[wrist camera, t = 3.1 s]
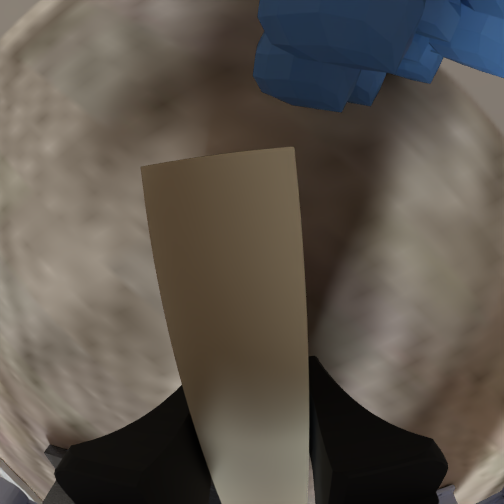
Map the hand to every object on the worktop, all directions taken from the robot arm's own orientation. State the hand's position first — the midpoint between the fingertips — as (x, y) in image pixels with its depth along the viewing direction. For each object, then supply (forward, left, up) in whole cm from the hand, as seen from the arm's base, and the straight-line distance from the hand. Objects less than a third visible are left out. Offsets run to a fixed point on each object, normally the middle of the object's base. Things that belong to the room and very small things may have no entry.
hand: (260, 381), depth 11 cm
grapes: (-6, -13, -2) cm, 14 cm away
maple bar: (0, 0, -2) cm, 2 cm away
